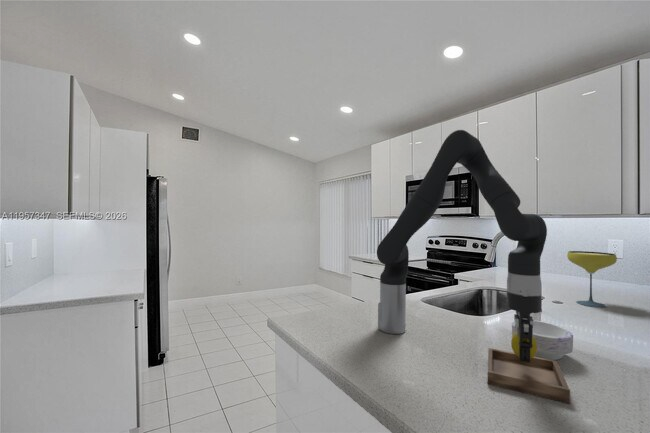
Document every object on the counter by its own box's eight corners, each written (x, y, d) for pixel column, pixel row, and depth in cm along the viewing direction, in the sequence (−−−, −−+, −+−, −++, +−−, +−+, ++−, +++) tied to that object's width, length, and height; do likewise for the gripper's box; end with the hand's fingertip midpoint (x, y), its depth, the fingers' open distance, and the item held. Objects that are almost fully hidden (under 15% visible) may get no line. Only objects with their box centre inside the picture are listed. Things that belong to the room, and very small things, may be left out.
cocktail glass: (578, 307, 141) (578, 254, 141) (560, 298, 158) (560, 250, 158) (626, 311, 136) (626, 256, 136) (602, 301, 153) (602, 251, 153)
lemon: (541, 366, 74) (541, 334, 74) (516, 364, 75) (516, 332, 75) (530, 356, 80) (530, 326, 80) (507, 354, 81) (507, 325, 81)
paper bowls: (577, 370, 81) (577, 341, 82) (511, 356, 90) (511, 329, 90) (568, 350, 94) (568, 324, 94) (511, 339, 102) (511, 316, 102)
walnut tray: (487, 383, 74) (487, 371, 74) (488, 358, 88) (488, 347, 88) (569, 403, 67) (569, 390, 67) (556, 372, 80) (556, 360, 81)
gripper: (505, 284, 86) (505, 343, 86) (508, 295, 73) (507, 364, 73) (537, 287, 82) (537, 349, 82) (545, 299, 70) (545, 372, 69)
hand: (523, 356), depth 78 cm, fingers closed on lemon, 5 cm apart
